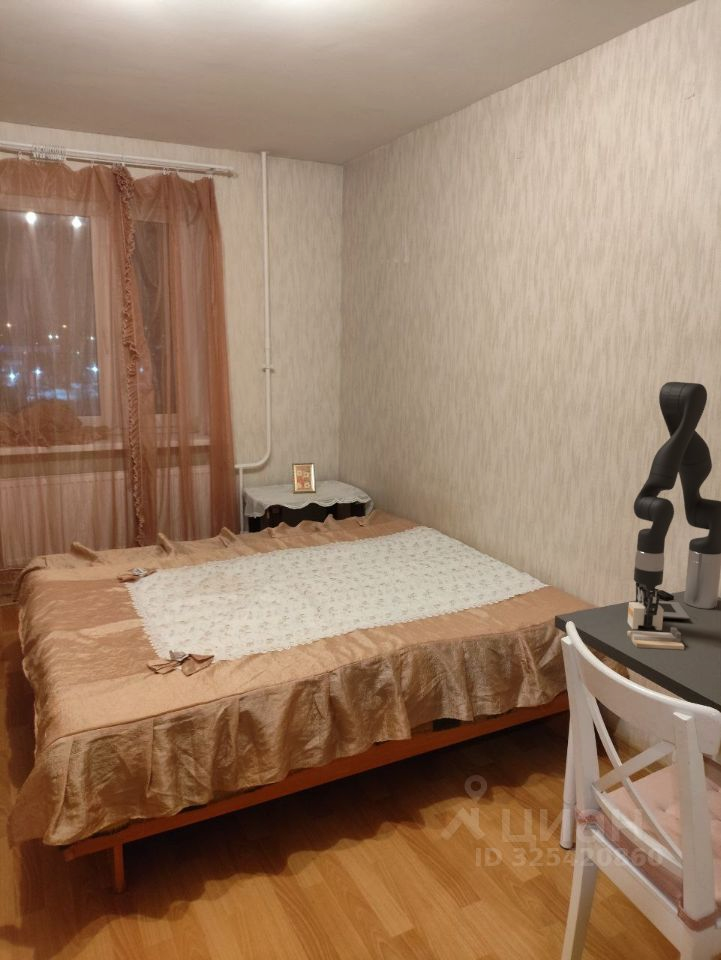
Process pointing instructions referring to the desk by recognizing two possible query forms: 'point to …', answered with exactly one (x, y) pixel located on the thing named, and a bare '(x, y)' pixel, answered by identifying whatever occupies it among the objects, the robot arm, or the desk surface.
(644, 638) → the rail board
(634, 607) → the white rectangular block
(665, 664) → the desk surface
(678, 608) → the electrical outlet
